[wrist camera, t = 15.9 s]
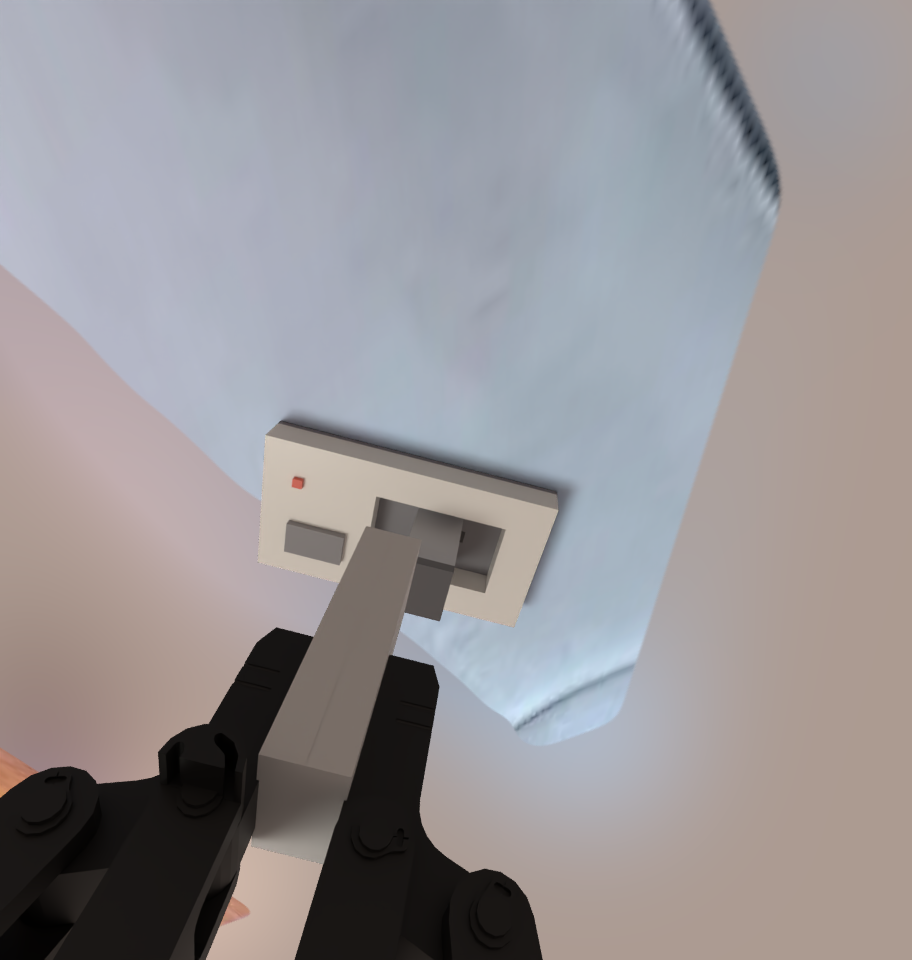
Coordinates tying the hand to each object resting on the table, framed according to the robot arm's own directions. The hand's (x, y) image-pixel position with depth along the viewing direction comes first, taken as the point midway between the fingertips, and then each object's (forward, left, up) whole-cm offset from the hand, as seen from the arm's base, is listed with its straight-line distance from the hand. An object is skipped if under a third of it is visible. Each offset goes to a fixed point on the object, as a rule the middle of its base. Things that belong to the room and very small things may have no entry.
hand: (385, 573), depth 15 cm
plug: (+18, +1, -29) cm, 34 cm away
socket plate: (+18, -2, -29) cm, 35 cm away
